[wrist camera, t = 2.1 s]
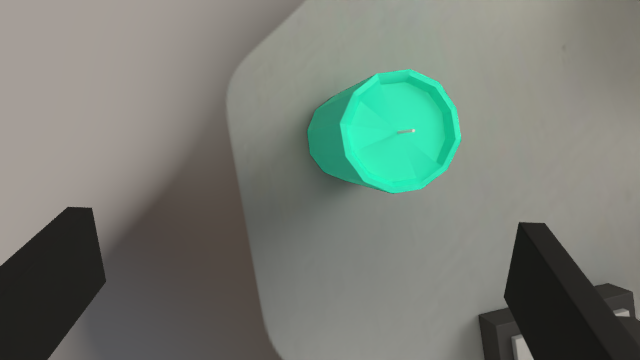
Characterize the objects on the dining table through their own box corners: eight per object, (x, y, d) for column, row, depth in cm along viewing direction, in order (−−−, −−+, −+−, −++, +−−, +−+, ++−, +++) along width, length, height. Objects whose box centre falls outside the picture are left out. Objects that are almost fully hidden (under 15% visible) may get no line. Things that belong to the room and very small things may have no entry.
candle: (397, 99, 34) (484, 73, 22) (385, 185, 34) (465, 204, 23) (312, 86, 33) (358, 52, 21) (301, 175, 33) (340, 189, 22)
